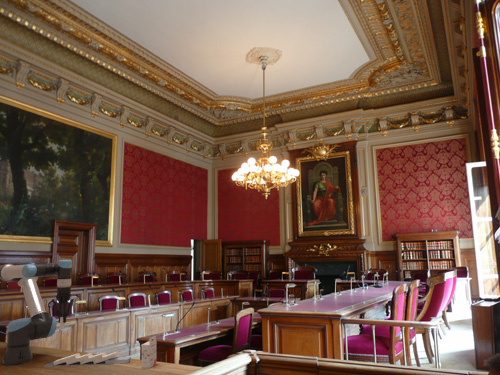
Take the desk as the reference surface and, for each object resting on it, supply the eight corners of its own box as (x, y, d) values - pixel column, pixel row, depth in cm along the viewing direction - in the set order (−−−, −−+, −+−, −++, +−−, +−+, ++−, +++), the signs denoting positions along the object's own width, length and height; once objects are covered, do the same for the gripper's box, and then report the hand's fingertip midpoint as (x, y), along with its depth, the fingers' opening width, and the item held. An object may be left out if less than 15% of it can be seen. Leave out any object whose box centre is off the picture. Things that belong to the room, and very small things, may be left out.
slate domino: (105, 360, 227) (127, 359, 227) (109, 357, 232) (130, 356, 232) (105, 363, 226) (127, 362, 226) (109, 360, 232) (130, 360, 232)
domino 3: (79, 361, 227) (101, 354, 227) (84, 358, 232) (105, 351, 233) (80, 364, 226) (102, 357, 227) (85, 361, 232) (106, 355, 233)
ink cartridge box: (148, 363, 225) (148, 335, 227) (156, 364, 224) (156, 335, 226) (140, 368, 217) (141, 338, 219) (149, 368, 216) (149, 338, 218)
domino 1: (53, 362, 226) (75, 355, 227) (58, 359, 232) (79, 352, 233) (54, 365, 226) (75, 358, 227) (59, 362, 232) (80, 356, 233)
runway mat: (42, 367, 224) (42, 366, 224) (51, 363, 234) (51, 362, 234) (113, 365, 224) (113, 364, 224) (119, 360, 234) (119, 359, 234)
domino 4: (93, 360, 227) (114, 353, 227) (97, 358, 232) (118, 351, 233) (94, 364, 226) (115, 356, 227) (98, 361, 232) (119, 354, 233)
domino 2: (66, 361, 226) (87, 355, 227) (70, 358, 232) (91, 352, 233) (66, 365, 226) (88, 358, 227) (71, 362, 232) (92, 355, 233)
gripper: (49, 287, 240) (47, 330, 236) (72, 286, 240) (70, 329, 236) (56, 286, 247) (54, 327, 244) (78, 285, 247) (76, 327, 243)
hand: (62, 328), depth 240 cm, fingers closed
